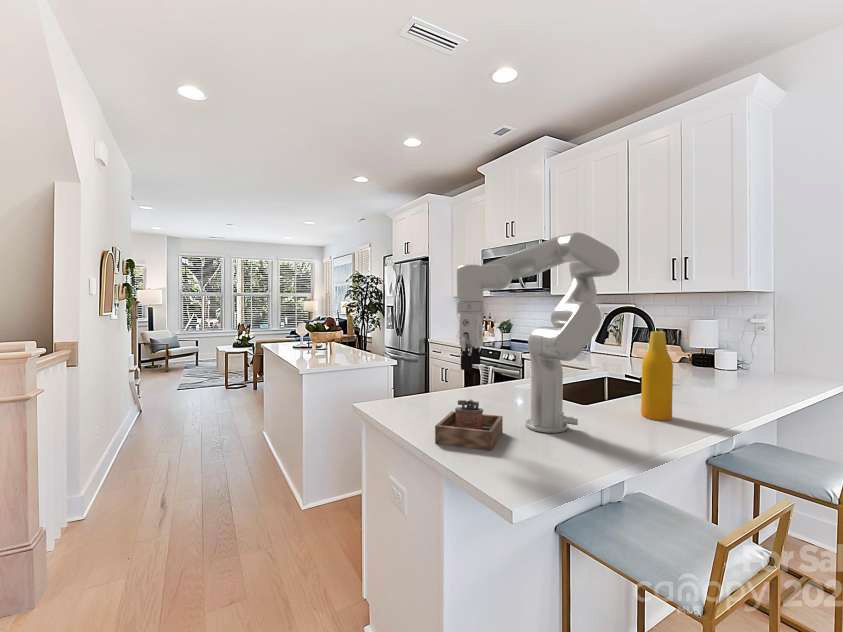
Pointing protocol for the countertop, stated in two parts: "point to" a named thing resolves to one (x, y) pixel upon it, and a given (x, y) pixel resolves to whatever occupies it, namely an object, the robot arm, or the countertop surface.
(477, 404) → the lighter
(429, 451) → the countertop surface
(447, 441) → the walnut box
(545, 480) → the countertop surface
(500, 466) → the countertop surface
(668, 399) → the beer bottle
